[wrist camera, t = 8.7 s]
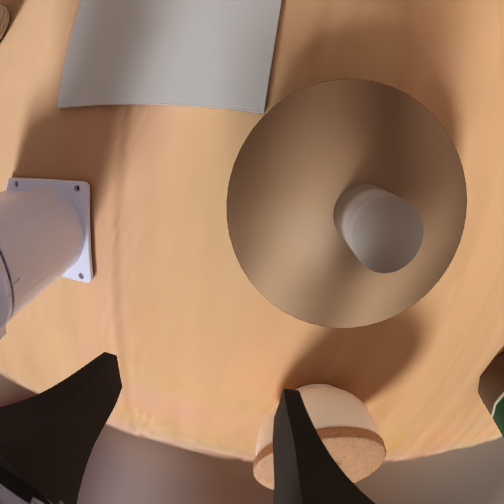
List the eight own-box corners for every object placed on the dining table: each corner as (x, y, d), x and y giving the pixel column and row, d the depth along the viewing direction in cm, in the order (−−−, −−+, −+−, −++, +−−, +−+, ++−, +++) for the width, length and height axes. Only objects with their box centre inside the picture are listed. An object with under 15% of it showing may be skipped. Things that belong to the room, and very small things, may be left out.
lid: (223, 312, 17) (212, 362, 13) (237, 67, 12) (227, 39, 8) (427, 321, 17) (456, 362, 13) (470, 116, 12) (520, 116, 8)
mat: (61, 108, 17) (57, 107, 16) (104, -49, 12) (101, -52, 11) (263, 113, 17) (263, 112, 16) (292, -60, 12) (292, -64, 11)
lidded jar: (244, 426, 27) (238, 503, 18) (275, 354, 23) (278, 451, 15) (337, 437, 28) (349, 506, 19) (386, 372, 24) (417, 452, 15)
